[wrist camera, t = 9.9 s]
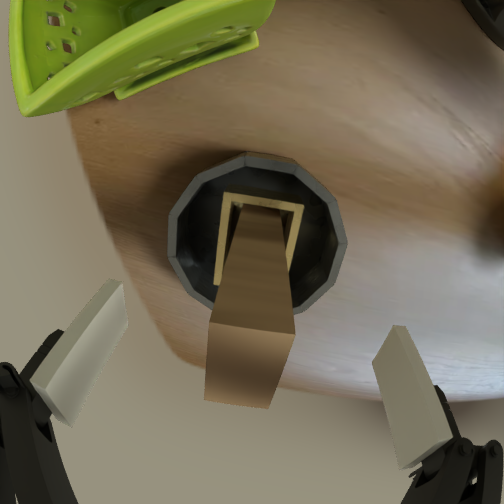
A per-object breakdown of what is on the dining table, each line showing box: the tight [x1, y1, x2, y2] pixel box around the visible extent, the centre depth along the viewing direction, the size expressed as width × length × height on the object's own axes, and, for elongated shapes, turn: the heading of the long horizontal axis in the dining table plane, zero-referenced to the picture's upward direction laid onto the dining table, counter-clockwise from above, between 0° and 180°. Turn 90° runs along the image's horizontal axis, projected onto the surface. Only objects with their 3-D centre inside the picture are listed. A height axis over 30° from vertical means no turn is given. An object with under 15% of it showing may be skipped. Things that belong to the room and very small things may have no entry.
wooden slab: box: [204, 203, 296, 409], centre depth 17 cm, size 5×3×15 cm, turn 171°
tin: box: [167, 151, 348, 315], centre depth 22 cm, size 14×14×4 cm
